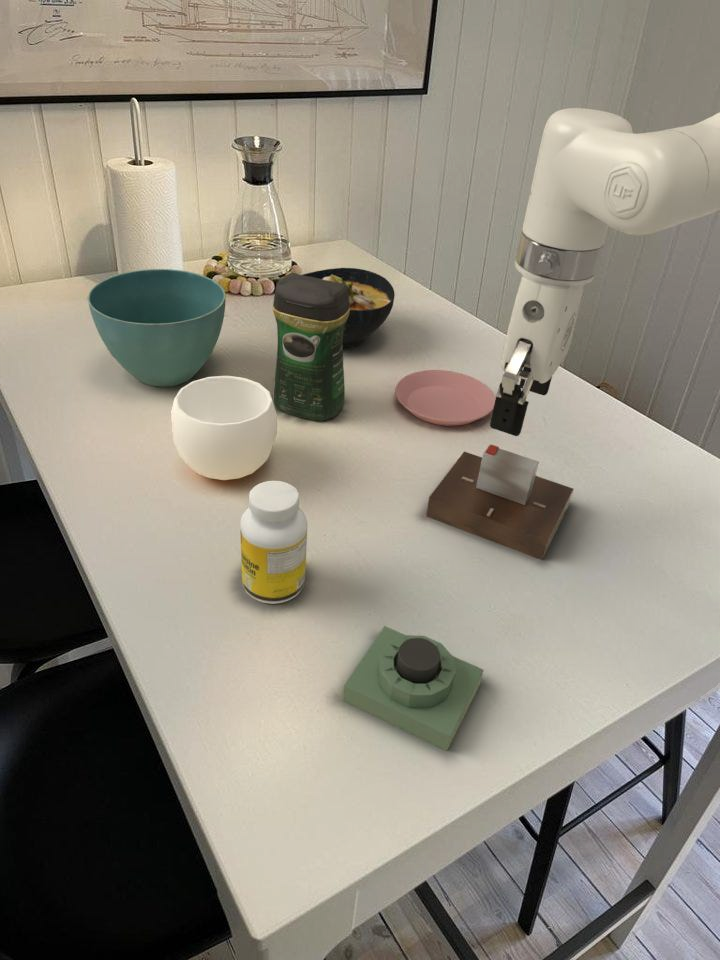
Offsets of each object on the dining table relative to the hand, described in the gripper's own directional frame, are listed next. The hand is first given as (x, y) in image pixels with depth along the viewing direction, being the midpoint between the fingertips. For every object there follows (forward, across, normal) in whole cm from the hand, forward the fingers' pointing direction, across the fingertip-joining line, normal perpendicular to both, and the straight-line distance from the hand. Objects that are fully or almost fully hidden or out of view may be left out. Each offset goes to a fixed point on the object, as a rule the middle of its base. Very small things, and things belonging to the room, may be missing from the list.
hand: (519, 410), depth 81 cm
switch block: (+14, -29, -2) cm, 32 cm away
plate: (+15, +19, +14) cm, 28 cm away
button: (+10, -29, -2) cm, 31 cm away
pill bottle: (+14, -24, +16) cm, 32 cm away
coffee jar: (+15, +8, +30) cm, 35 cm away
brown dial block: (+14, 0, 0) cm, 14 cm away
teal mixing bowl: (+15, +4, +52) cm, 55 cm away
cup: (+15, -10, +32) cm, 36 cm away
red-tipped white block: (+11, 0, 0) cm, 11 cm away
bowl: (+15, +29, +38) cm, 50 cm away
